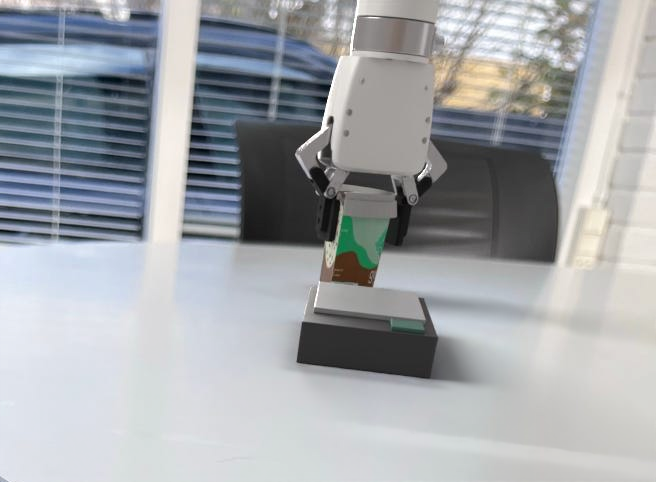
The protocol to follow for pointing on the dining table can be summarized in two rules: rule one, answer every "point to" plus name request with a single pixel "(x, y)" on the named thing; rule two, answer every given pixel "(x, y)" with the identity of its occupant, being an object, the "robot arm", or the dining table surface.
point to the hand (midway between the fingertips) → (359, 240)
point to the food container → (358, 236)
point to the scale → (367, 330)
